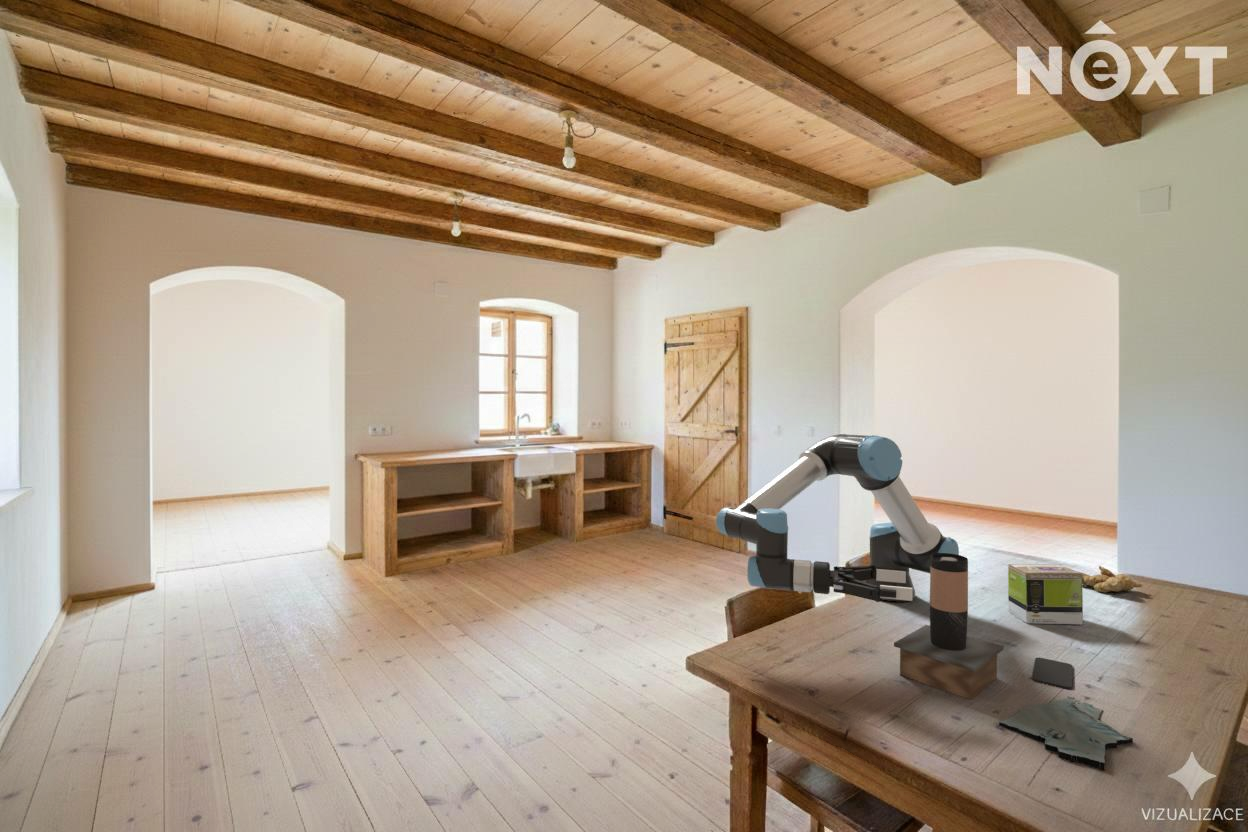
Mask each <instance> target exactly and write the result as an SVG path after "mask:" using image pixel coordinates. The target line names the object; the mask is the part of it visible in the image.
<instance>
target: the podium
mask: <svg viewBox="0 0 1248 832" xmlns="http://www.w3.org/2000/svg"><path fill="white" fill-rule="evenodd" d="M893 647H894V648H898V649H900V650H899V653H900V654H899V676H901V675H903V676H902V677H904V676H906V677H905V678H907V677H909V678H908V679H910V678H912V679H911V680H913V679H914V680H913V681H916V680H917V681H916V682H918V683H921V682H923V683H922V684H924V683H926V684H925V685H927V684H928V686H931V687H934V688H936V689H939V690H942V691H944V692H948V693H951V694H953V695H956V696H959V697H963V698H965V699H969V700H973V699H974V698H975V697H976V696H978V695H979V694H980V693H981V692H982V691H983V690H985V689H987V687H988V686H989V685H990V684H992V682H994V681H996V680H997V678H998V655H999V654H1000V653H1001V652H1002V651H1003V650H1004V649H1005V646H1004V645H1002V644H997V643H994V642H991V641H987V640H983V639H980V638H977V637H976V638H975V637H973V636H969V635H967V639H966V648H965V649H964V650H959V651H954V650H946V649H942V648H939V647H937V646H935V645H933V644H932V643H931V637H930V625H928V624H925V625H923V626H921V627H920V628H918V629H916V630H914V631H912V632H911V633H909V634H907V635H905V636H904V637H902V638H900V639H898V640H897V641H895V642H893Z"/></svg>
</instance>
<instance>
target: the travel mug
mask: <svg viewBox="0 0 1248 832" xmlns="http://www.w3.org/2000/svg"><path fill="white" fill-rule="evenodd" d="M929 576H930V577H929V579H930V580H929V581H930V582H929V623H930V625H929V626H930V637H931V643H932V644H933V645H935V646H937V647H939V648H942V649H946V650H954V651H959V650H964V649H965V648H966V639H967V636H968V634H967V633H968V618H969V617H968V616H969V612H968V611H969V559H968V558H967V557H966V556H964V555H960V554H959V555H956V554H950V553H934V554H932V555H931V566H930V575H929Z"/></svg>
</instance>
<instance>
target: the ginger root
mask: <svg viewBox="0 0 1248 832" xmlns="http://www.w3.org/2000/svg"><path fill="white" fill-rule="evenodd" d="M1098 569H1099V570H1100V573H1099V574H1094V575H1089V574H1087V573H1084V572H1080V571H1078V572H1079V573H1082V586H1088V587H1091V588H1092V587H1093V589H1094V590H1095V591H1096V592H1098V593H1102V592H1104V594H1105V593H1109V592H1120V591H1123V592H1128V591H1131V590H1133V589H1134V588H1142V587H1143V584H1142V583H1138V582H1137V581H1134V580H1133V579H1132V578H1131V577H1130V576H1128V575H1126V574H1124V573H1118V574H1115V573H1113V572H1112V571H1111V570H1109V569H1107V568H1105V567H1104V566H1103V567H1102V566H1101V565H1099V566H1098Z"/></svg>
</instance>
